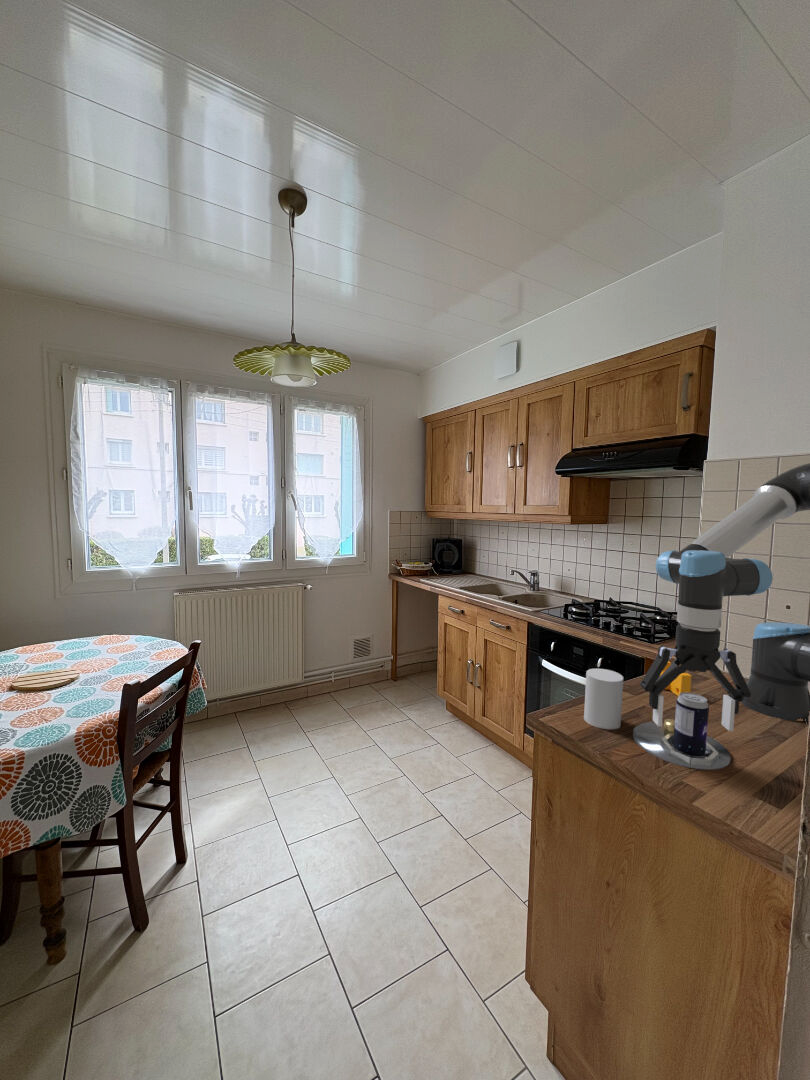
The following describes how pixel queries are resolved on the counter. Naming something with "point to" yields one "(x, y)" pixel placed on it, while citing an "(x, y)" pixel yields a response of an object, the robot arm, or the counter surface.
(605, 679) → the white cylinder
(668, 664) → the pipe clamp
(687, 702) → the beverage can
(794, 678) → the robot arm
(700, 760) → the carrier
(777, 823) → the counter surface
